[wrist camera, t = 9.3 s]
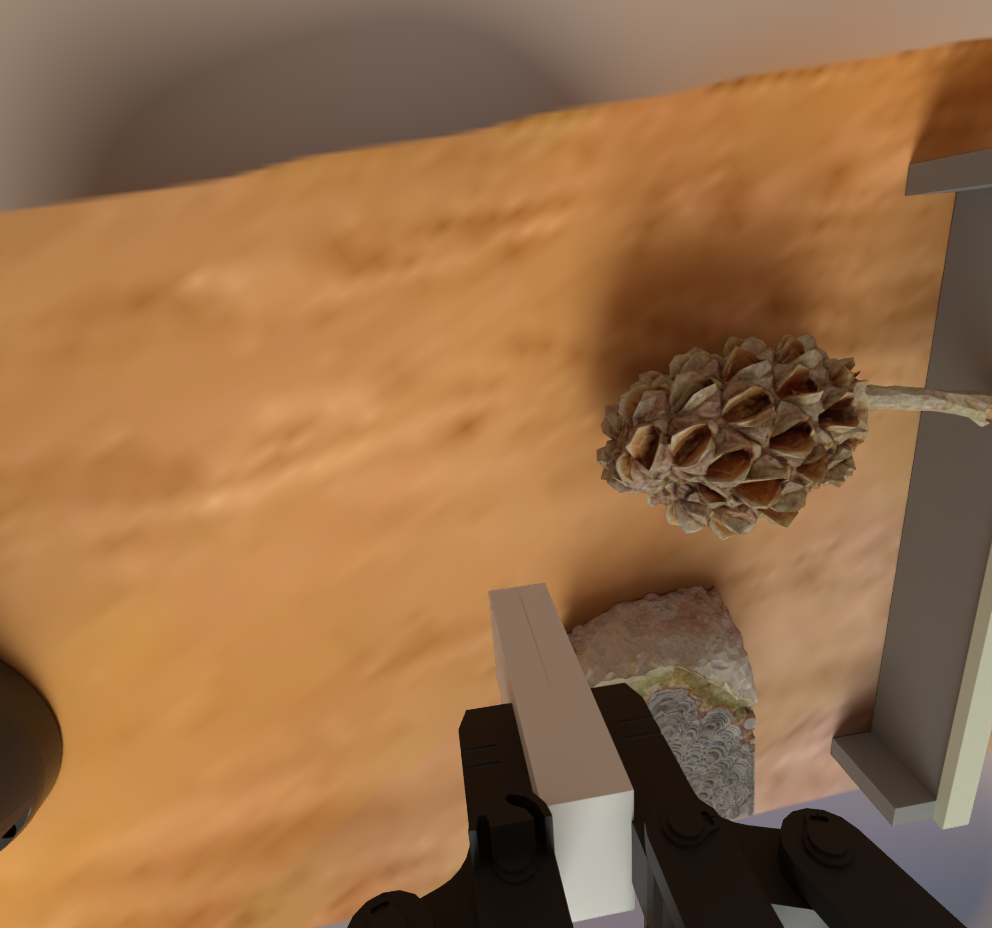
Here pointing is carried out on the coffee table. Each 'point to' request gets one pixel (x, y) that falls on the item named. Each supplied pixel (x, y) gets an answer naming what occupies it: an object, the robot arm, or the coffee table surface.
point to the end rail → (941, 550)
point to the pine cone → (751, 430)
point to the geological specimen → (684, 685)
